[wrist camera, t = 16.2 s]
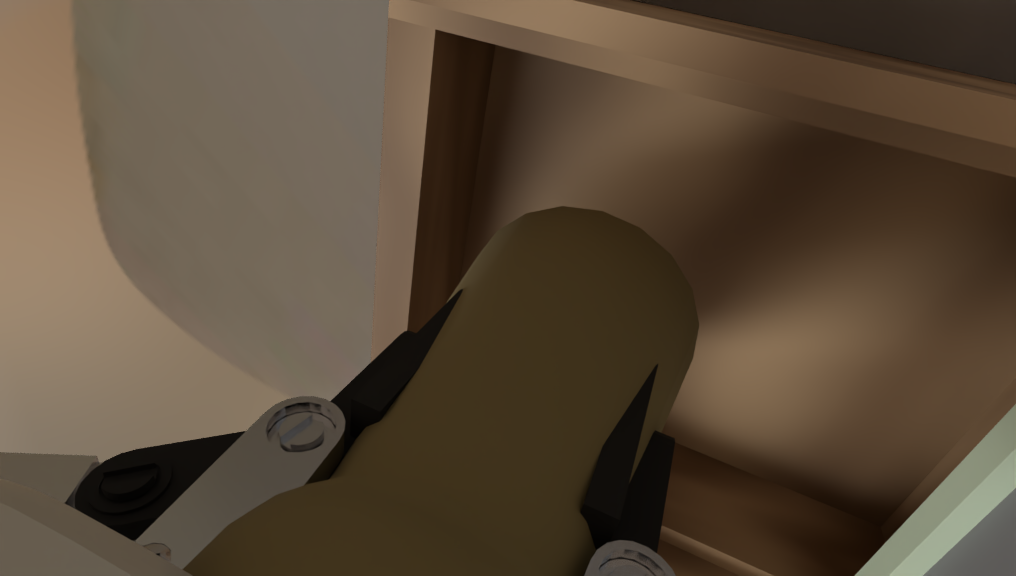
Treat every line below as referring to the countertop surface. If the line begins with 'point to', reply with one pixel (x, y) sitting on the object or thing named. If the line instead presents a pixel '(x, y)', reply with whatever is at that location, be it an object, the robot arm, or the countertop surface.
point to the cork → (494, 418)
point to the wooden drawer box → (733, 245)
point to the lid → (962, 518)
